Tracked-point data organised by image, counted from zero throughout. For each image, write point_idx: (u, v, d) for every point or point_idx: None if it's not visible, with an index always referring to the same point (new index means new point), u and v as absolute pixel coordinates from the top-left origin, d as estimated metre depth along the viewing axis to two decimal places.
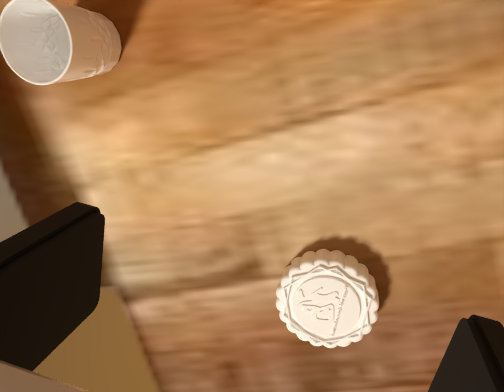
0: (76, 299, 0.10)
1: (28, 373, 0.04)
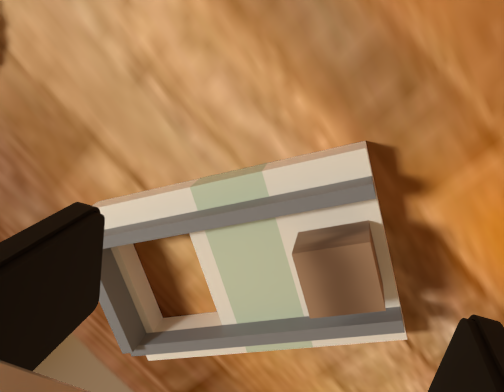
0: (76, 299, 0.10)
1: (28, 373, 0.04)
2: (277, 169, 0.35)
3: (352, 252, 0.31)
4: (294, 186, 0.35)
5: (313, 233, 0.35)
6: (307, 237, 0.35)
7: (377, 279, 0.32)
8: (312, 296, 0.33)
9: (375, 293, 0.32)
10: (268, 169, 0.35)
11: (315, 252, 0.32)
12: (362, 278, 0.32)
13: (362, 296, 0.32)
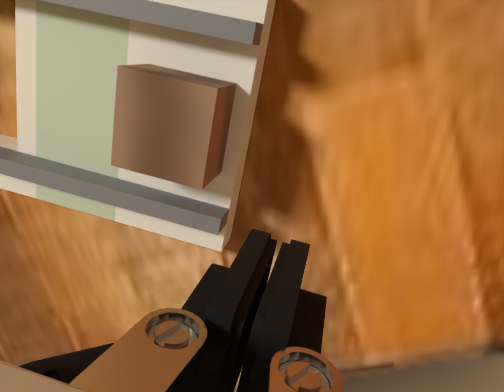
0: None
1: (28, 373, 0.04)
2: None
3: (191, 94, 0.23)
4: None
5: (164, 68, 0.26)
6: (153, 67, 0.26)
7: (207, 144, 0.24)
8: (123, 136, 0.25)
9: (198, 162, 0.24)
10: None
11: (147, 76, 0.23)
12: (190, 136, 0.24)
13: (182, 160, 0.25)
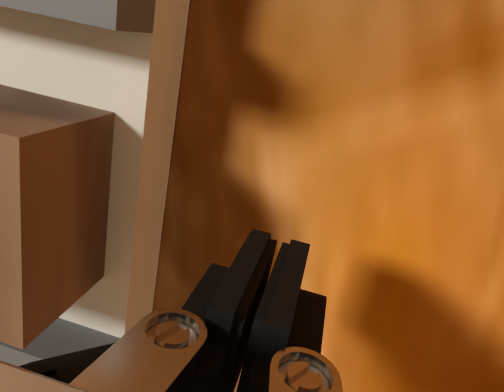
0: None
1: (28, 373, 0.04)
2: None
3: None
4: None
5: None
6: None
7: (18, 260, 0.10)
8: None
9: (5, 295, 0.11)
10: None
11: None
12: None
13: None
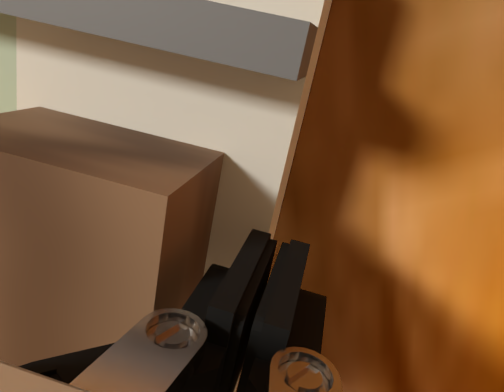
0: None
1: (28, 373, 0.04)
2: None
3: (100, 207, 0.09)
4: None
5: (64, 120, 0.12)
6: (36, 120, 0.12)
7: None
8: None
9: None
10: None
11: None
12: (106, 302, 0.10)
13: None
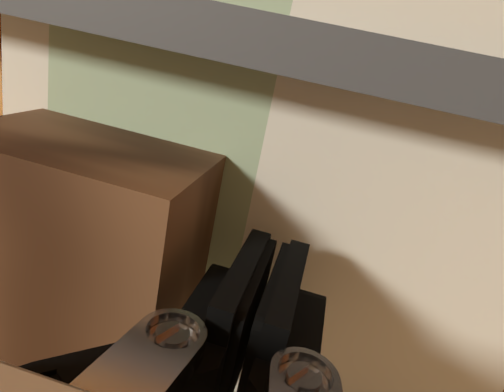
0: None
1: (28, 373, 0.04)
2: None
3: (103, 211, 0.09)
4: (386, 20, 0.10)
5: (67, 122, 0.12)
6: (40, 121, 0.12)
7: None
8: None
9: None
10: None
11: None
12: (108, 304, 0.10)
13: None
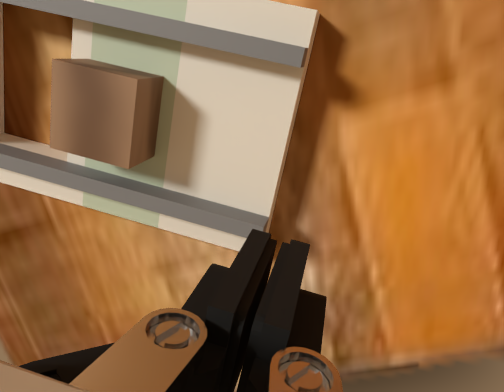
0: None
1: (28, 373, 0.04)
2: None
3: (115, 84, 0.27)
4: (218, 22, 0.28)
5: (99, 62, 0.30)
6: (89, 61, 0.29)
7: (131, 128, 0.27)
8: (59, 122, 0.28)
9: (124, 144, 0.28)
10: None
11: (78, 68, 0.27)
12: (116, 121, 0.27)
13: (110, 142, 0.28)
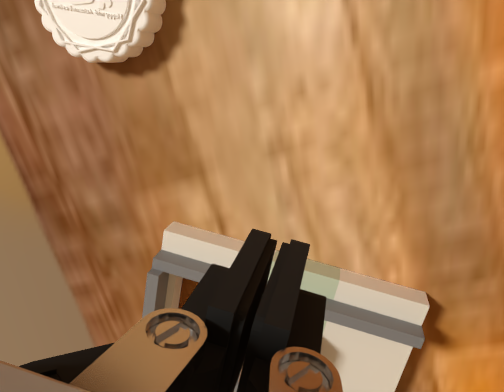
0: None
1: (28, 373, 0.04)
2: (352, 285, 0.40)
3: None
4: (358, 303, 0.41)
5: None
6: None
7: None
8: None
9: None
10: (345, 281, 0.41)
11: None
12: None
13: None
